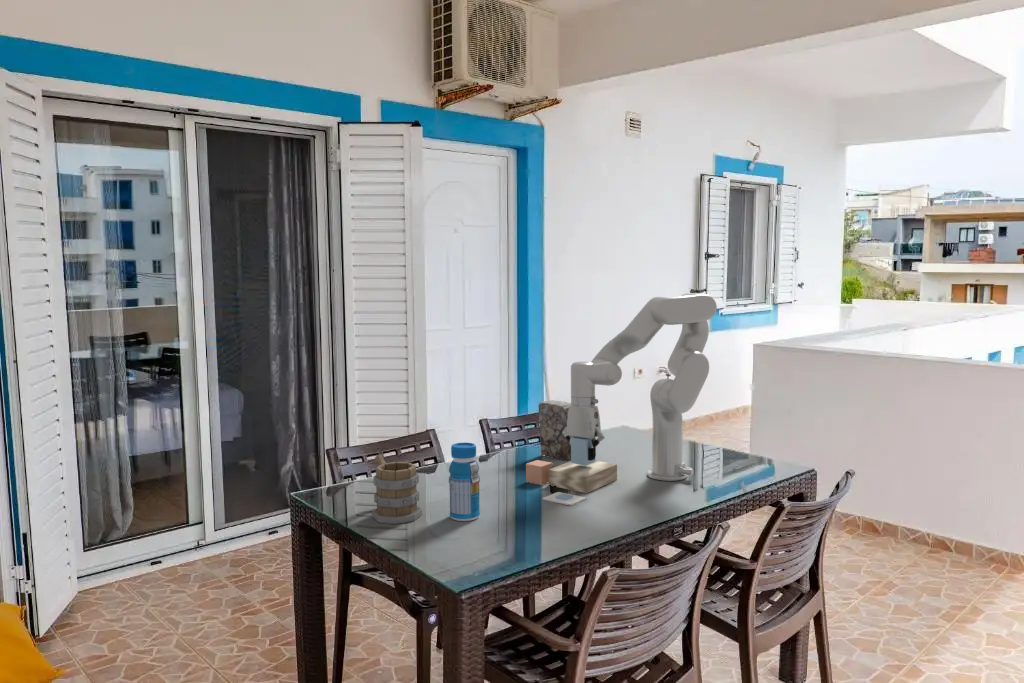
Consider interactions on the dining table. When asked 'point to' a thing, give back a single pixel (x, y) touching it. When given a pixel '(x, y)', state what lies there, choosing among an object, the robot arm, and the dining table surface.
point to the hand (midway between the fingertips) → (583, 457)
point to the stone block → (554, 429)
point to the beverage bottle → (464, 483)
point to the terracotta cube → (538, 472)
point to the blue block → (580, 451)
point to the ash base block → (582, 476)
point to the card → (564, 498)
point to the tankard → (396, 492)
